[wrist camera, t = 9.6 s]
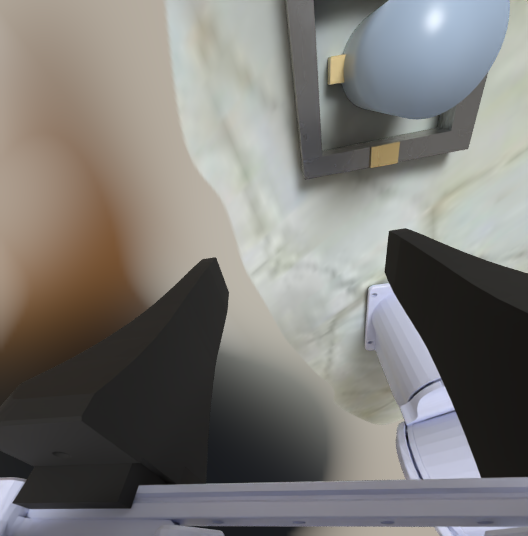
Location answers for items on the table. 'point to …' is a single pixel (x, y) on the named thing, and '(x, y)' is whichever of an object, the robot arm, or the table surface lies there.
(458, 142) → the collar
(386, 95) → the blue-grey rounded tapered piece
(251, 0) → the table surface
